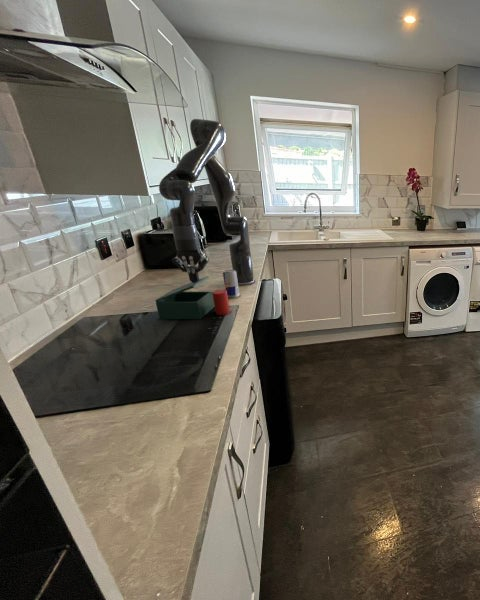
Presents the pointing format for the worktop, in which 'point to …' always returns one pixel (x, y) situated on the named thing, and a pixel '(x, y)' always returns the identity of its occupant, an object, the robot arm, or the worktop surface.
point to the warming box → (186, 305)
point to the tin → (221, 302)
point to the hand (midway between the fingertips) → (194, 282)
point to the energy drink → (231, 283)
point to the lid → (181, 289)
